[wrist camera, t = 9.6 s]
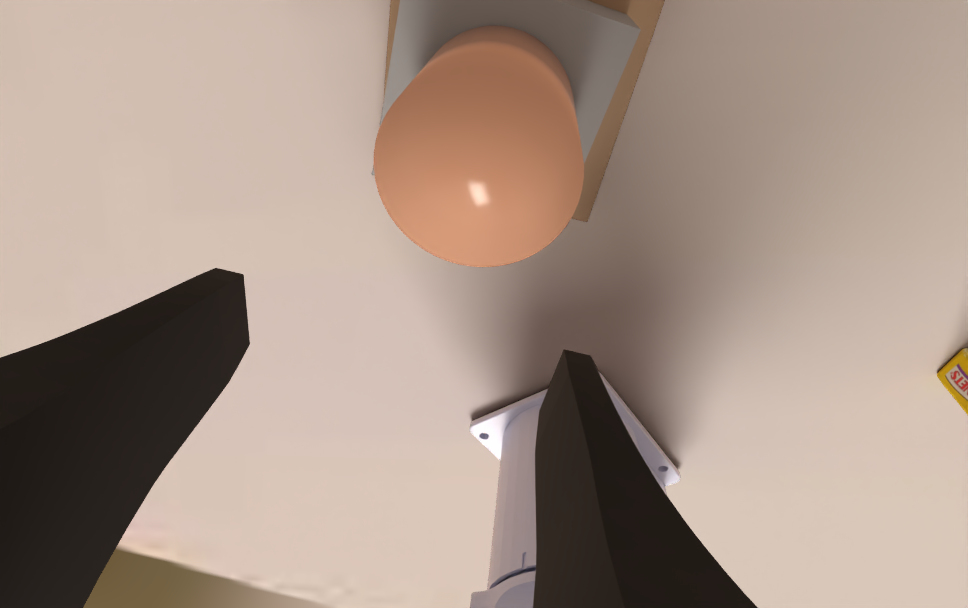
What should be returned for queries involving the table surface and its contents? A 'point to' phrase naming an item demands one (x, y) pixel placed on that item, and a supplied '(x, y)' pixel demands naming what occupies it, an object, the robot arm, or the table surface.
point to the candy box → (957, 378)
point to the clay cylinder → (483, 150)
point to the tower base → (644, 9)
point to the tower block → (541, 13)
